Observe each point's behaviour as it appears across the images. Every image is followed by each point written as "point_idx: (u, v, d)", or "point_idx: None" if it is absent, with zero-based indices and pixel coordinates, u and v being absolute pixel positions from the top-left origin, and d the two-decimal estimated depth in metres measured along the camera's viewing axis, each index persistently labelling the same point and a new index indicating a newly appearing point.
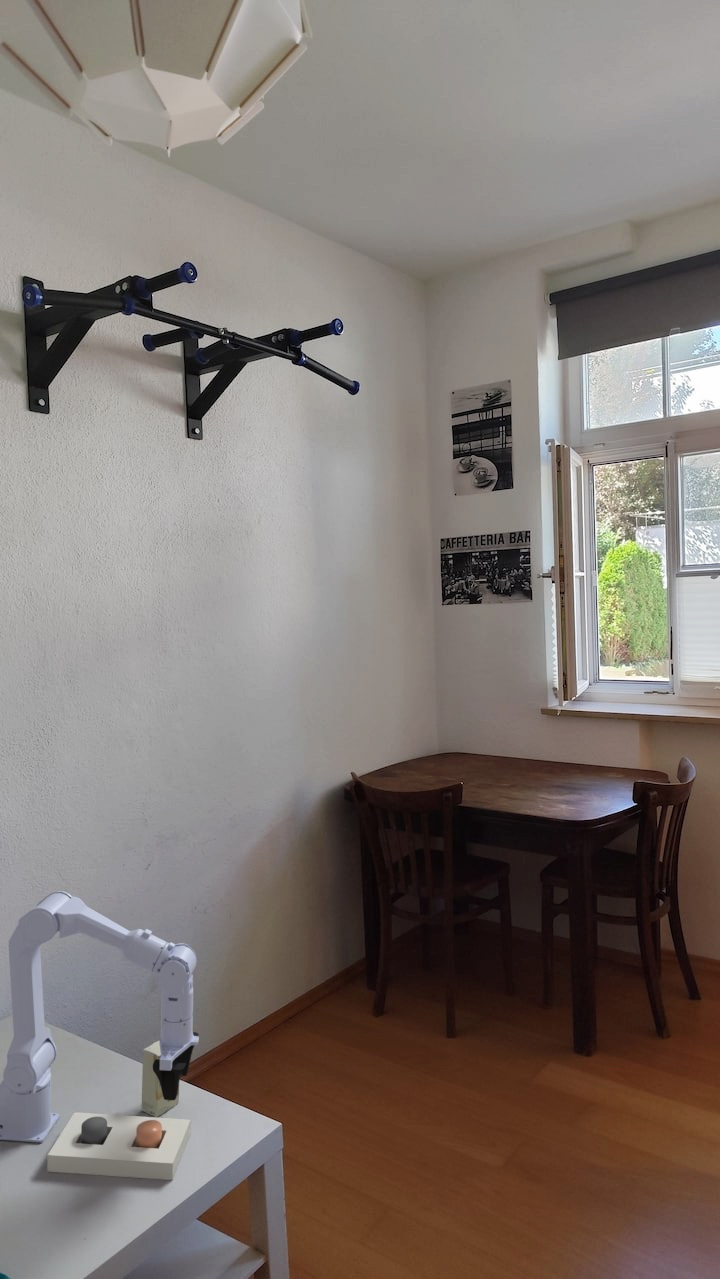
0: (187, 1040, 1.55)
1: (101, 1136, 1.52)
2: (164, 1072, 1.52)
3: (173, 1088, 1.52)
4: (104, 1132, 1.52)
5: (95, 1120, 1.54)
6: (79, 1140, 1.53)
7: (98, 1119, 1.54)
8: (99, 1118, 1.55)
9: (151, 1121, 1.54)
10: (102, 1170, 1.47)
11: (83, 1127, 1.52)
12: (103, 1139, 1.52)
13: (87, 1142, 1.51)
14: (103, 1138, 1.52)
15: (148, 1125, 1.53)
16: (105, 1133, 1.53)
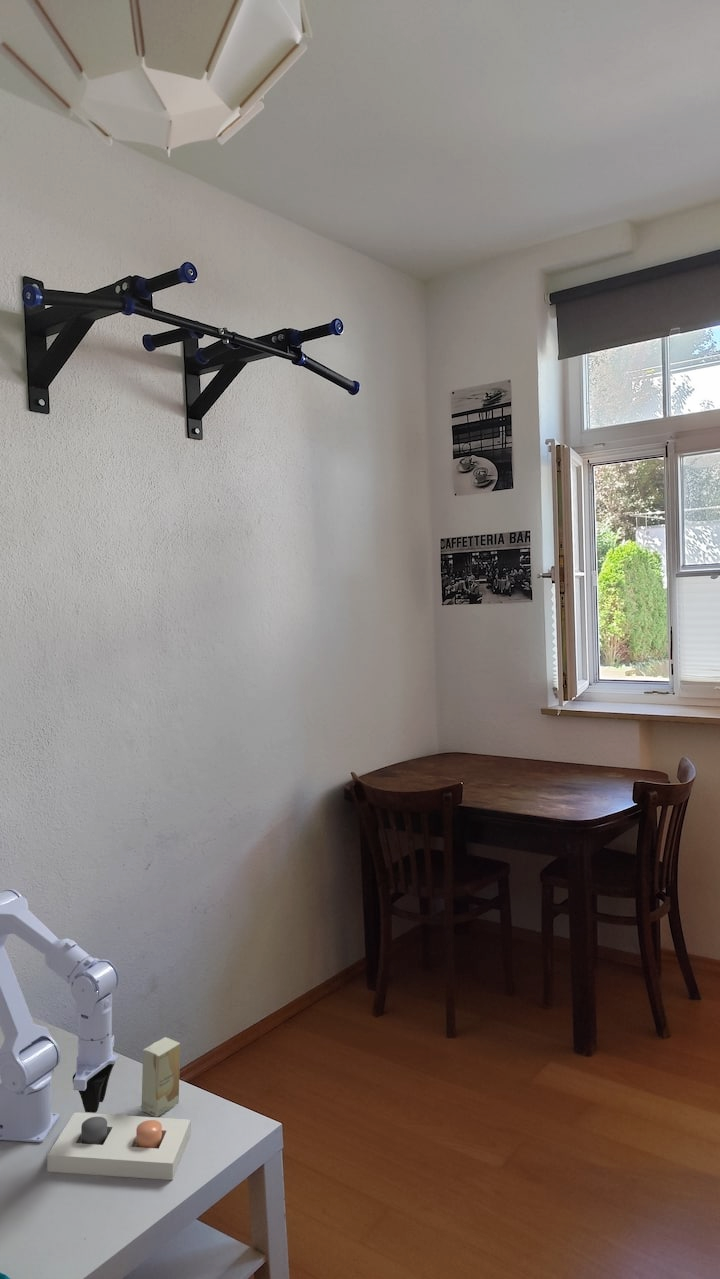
0: (105, 1059, 1.51)
1: (101, 1136, 1.52)
2: None
3: (94, 1100, 1.51)
4: (104, 1132, 1.52)
5: (95, 1120, 1.54)
6: (79, 1140, 1.53)
7: (98, 1119, 1.54)
8: (99, 1118, 1.55)
9: (151, 1121, 1.54)
10: (102, 1170, 1.47)
11: (83, 1127, 1.52)
12: (103, 1139, 1.52)
13: (87, 1142, 1.51)
14: (103, 1138, 1.52)
15: (148, 1125, 1.53)
16: (105, 1133, 1.53)
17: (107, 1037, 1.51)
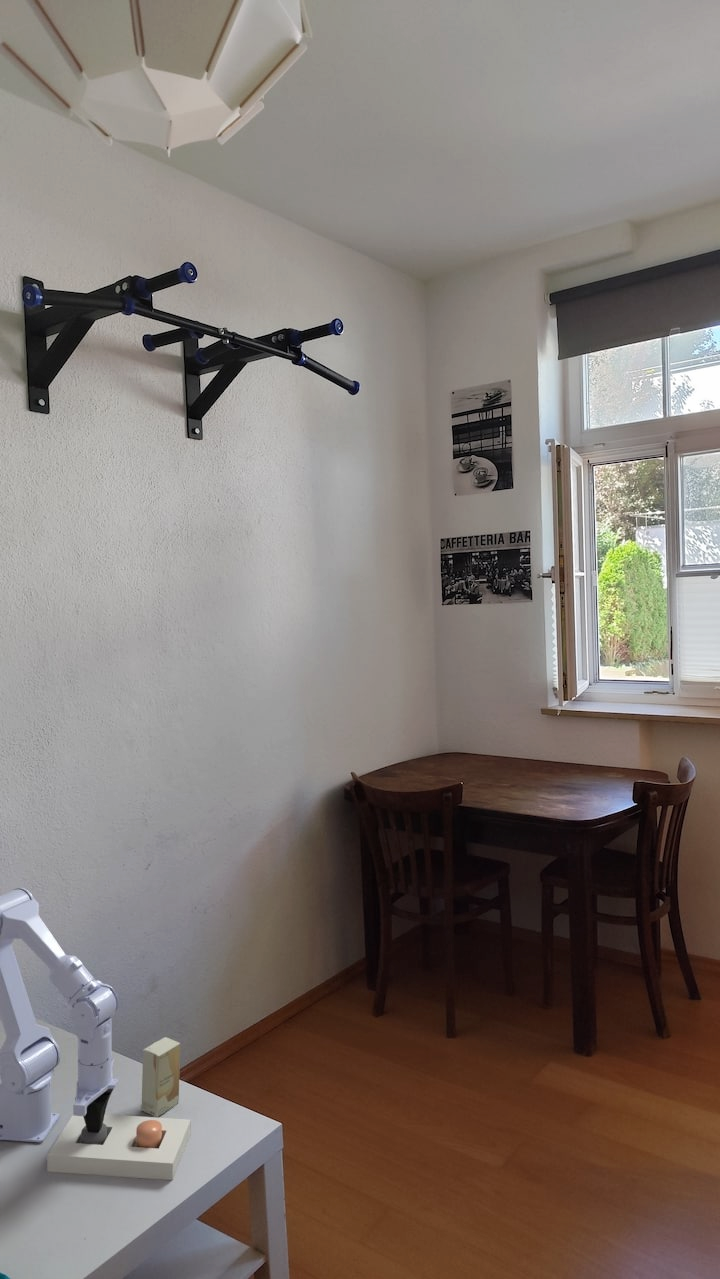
0: (104, 1083, 1.51)
1: (101, 1142, 1.52)
2: (87, 1105, 1.52)
3: (96, 1121, 1.52)
4: (104, 1137, 1.53)
5: None
6: (79, 1140, 1.53)
7: None
8: None
9: (151, 1121, 1.54)
10: (102, 1170, 1.47)
11: (83, 1133, 1.52)
12: None
13: None
14: None
15: (148, 1125, 1.53)
16: (105, 1139, 1.53)
17: (107, 1062, 1.51)
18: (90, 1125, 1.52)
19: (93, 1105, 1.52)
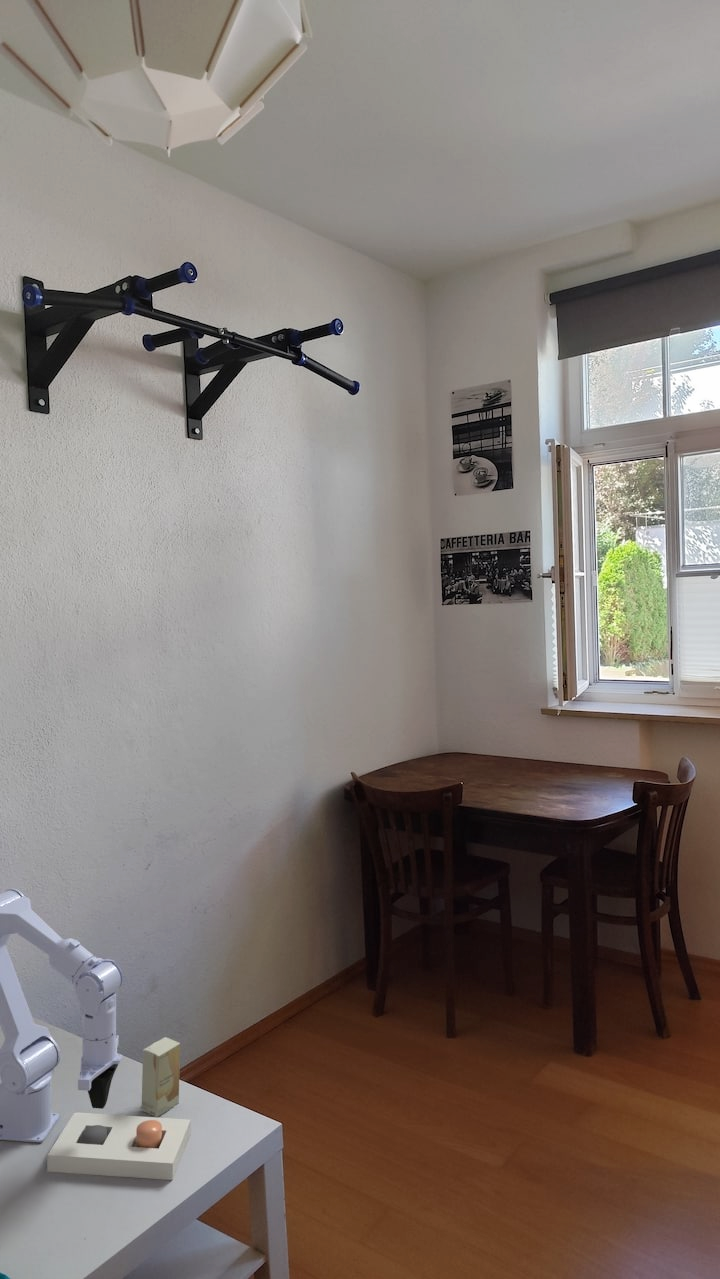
0: (109, 1059, 1.51)
1: None
2: (92, 1080, 1.52)
3: (101, 1096, 1.52)
4: (104, 1140, 1.53)
5: (95, 1129, 1.54)
6: (79, 1140, 1.53)
7: (98, 1128, 1.55)
8: (99, 1127, 1.55)
9: (151, 1121, 1.54)
10: (102, 1170, 1.47)
11: (83, 1136, 1.52)
12: None
13: None
14: None
15: (148, 1125, 1.53)
16: None
17: (111, 1037, 1.51)
18: (95, 1101, 1.52)
19: (98, 1081, 1.52)
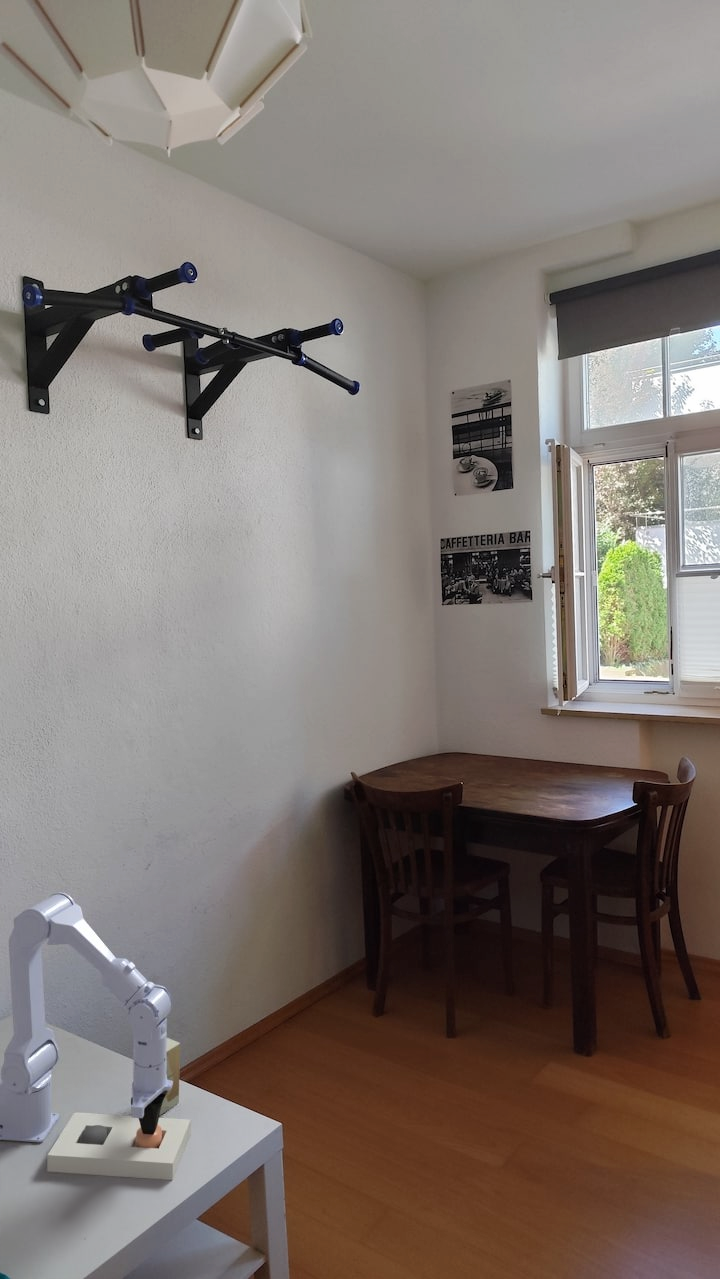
0: (160, 1085, 1.50)
1: None
2: None
3: (152, 1122, 1.52)
4: (104, 1140, 1.53)
5: (95, 1129, 1.54)
6: (79, 1140, 1.53)
7: (98, 1128, 1.55)
8: (99, 1127, 1.55)
9: None
10: (102, 1170, 1.47)
11: (83, 1136, 1.52)
12: None
13: None
14: None
15: None
16: None
17: (162, 1063, 1.51)
18: (145, 1127, 1.52)
19: (148, 1107, 1.51)
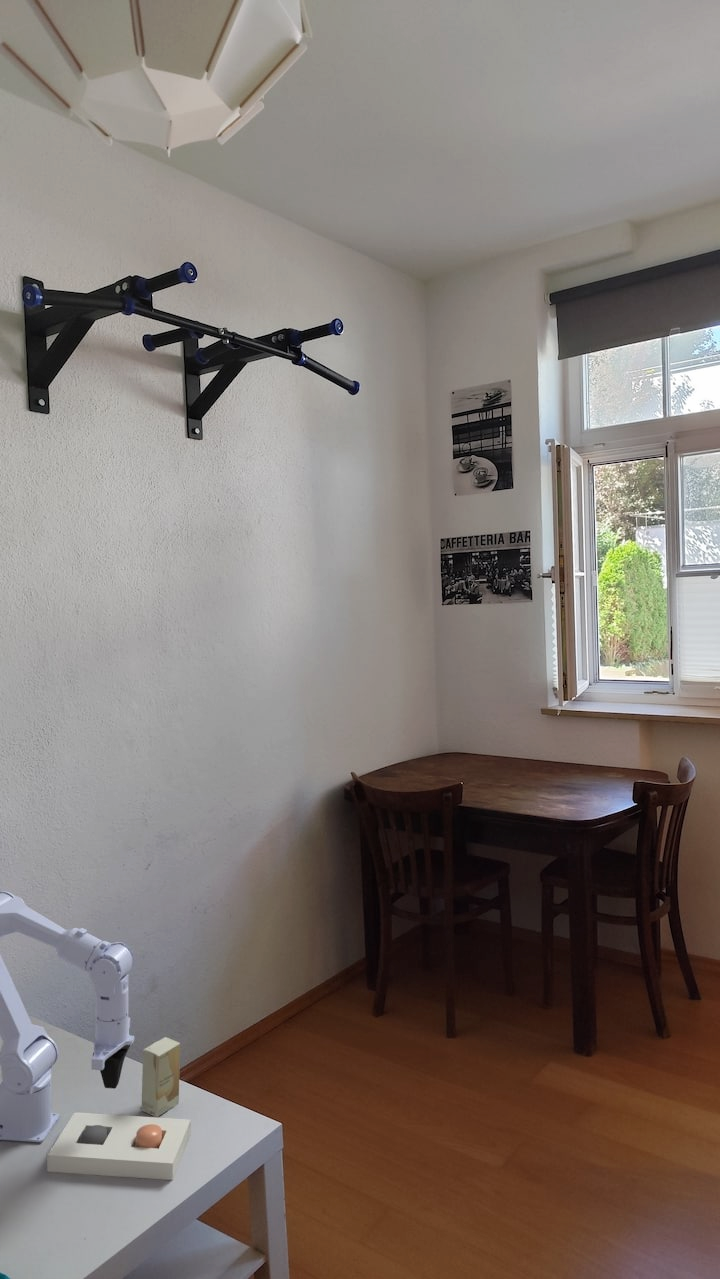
0: (122, 1039, 1.53)
1: None
2: (104, 1061, 1.54)
3: (113, 1076, 1.55)
4: (104, 1140, 1.53)
5: (95, 1129, 1.54)
6: (79, 1140, 1.53)
7: (98, 1128, 1.55)
8: (99, 1127, 1.55)
9: (151, 1125, 1.54)
10: (102, 1170, 1.47)
11: (83, 1136, 1.52)
12: None
13: None
14: None
15: (148, 1129, 1.53)
16: None
17: (124, 1018, 1.54)
18: (107, 1081, 1.55)
19: (110, 1061, 1.54)
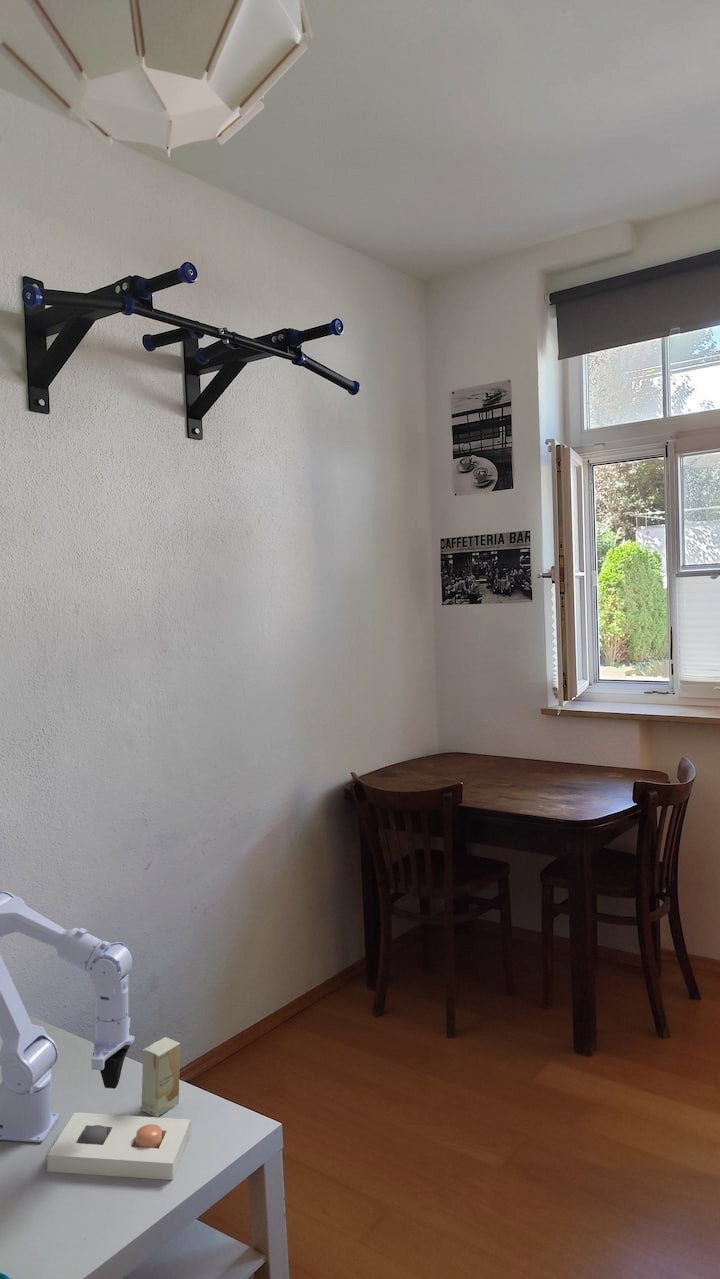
0: (122, 1039, 1.53)
1: None
2: (104, 1061, 1.54)
3: (113, 1076, 1.55)
4: (104, 1140, 1.53)
5: (95, 1129, 1.54)
6: (79, 1140, 1.53)
7: (98, 1128, 1.55)
8: (99, 1127, 1.55)
9: (151, 1125, 1.54)
10: (102, 1170, 1.47)
11: (83, 1136, 1.52)
12: None
13: None
14: None
15: (148, 1129, 1.53)
16: None
17: (124, 1018, 1.54)
18: (107, 1081, 1.55)
19: (110, 1061, 1.54)
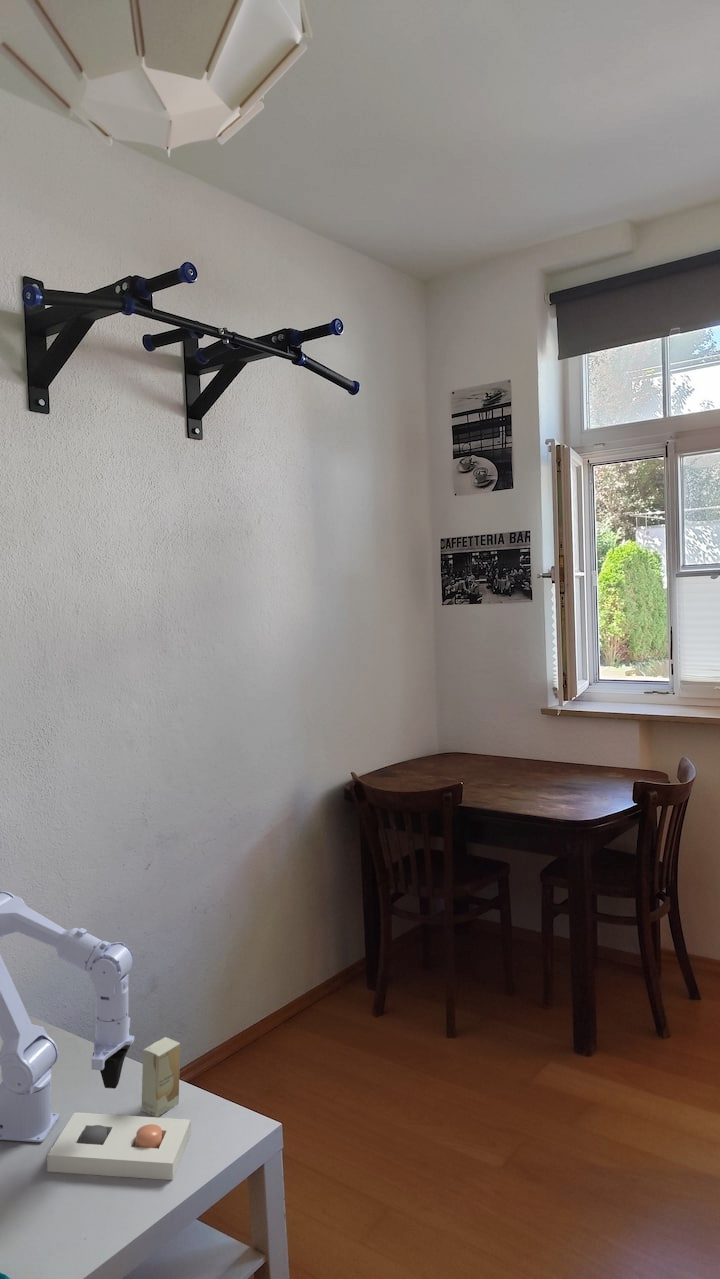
0: (122, 1039, 1.53)
1: None
2: (104, 1061, 1.54)
3: (113, 1076, 1.55)
4: (104, 1140, 1.53)
5: (95, 1129, 1.54)
6: (79, 1140, 1.53)
7: (98, 1128, 1.55)
8: (99, 1127, 1.55)
9: (151, 1125, 1.54)
10: (102, 1170, 1.47)
11: (83, 1136, 1.52)
12: None
13: None
14: None
15: (148, 1129, 1.53)
16: None
17: (124, 1018, 1.54)
18: (107, 1081, 1.55)
19: (110, 1061, 1.54)
